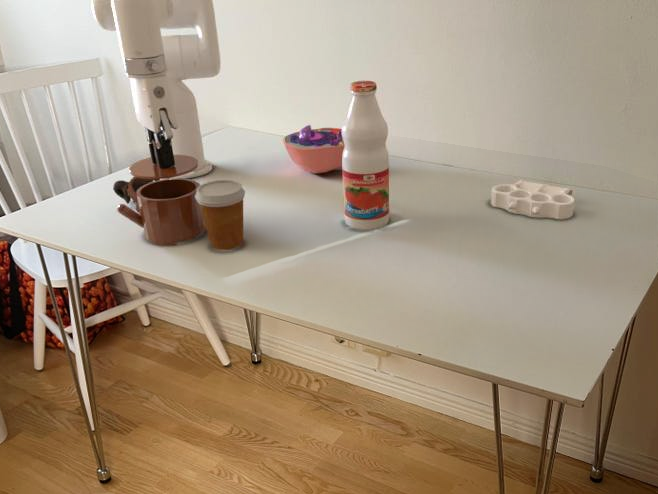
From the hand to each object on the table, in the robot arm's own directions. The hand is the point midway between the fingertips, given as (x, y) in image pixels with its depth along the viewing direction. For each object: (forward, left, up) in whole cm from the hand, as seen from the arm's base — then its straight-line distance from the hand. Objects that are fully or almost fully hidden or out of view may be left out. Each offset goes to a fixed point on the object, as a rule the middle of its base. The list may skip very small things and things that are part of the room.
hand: (163, 163), depth 139 cm
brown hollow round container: (0, 0, -15) cm, 15 cm away
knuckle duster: (+37, +67, -15) cm, 78 cm away
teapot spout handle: (0, 0, -13) cm, 13 cm away
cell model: (-12, +45, -15) cm, 49 cm away
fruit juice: (+21, +34, -15) cm, 43 cm away
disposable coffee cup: (+12, +6, -15) cm, 20 cm away
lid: (0, 0, -1) cm, 1 cm away
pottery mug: (-19, 0, -15) cm, 24 cm away
